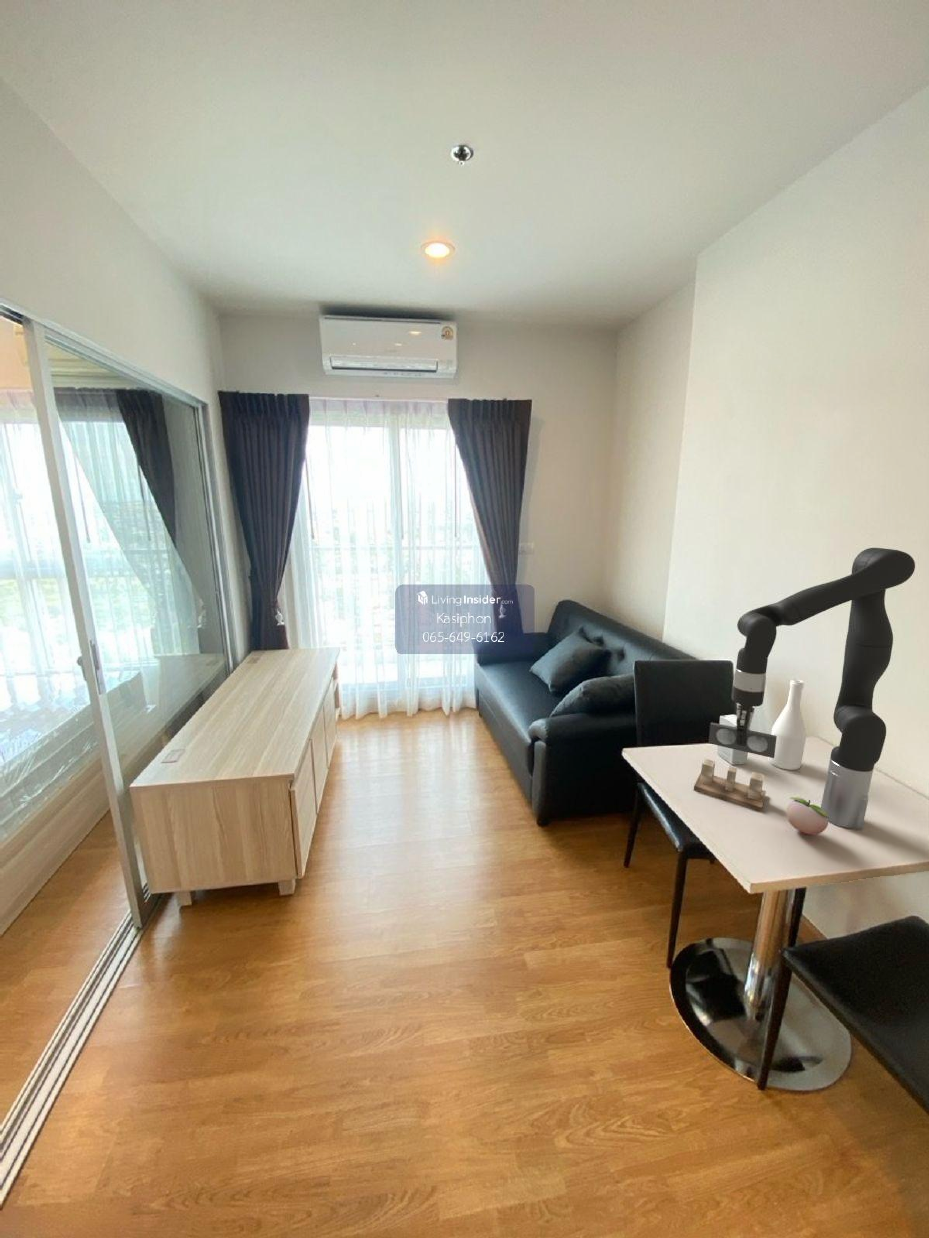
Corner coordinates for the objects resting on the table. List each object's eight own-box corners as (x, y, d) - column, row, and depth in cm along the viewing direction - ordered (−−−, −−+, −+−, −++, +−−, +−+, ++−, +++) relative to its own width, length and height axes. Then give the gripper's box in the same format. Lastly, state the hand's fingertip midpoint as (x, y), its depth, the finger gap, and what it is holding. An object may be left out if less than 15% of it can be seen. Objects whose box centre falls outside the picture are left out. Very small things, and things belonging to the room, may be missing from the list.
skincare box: (747, 764, 161) (752, 724, 157) (730, 765, 160) (736, 725, 157) (730, 751, 169) (735, 713, 165) (714, 753, 168) (719, 714, 165)
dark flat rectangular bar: (774, 756, 129) (776, 735, 128) (774, 758, 128) (776, 737, 126) (709, 741, 138) (711, 722, 137) (708, 743, 137) (710, 724, 136)
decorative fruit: (777, 830, 128) (782, 797, 126) (789, 818, 133) (794, 786, 130) (818, 849, 121) (825, 815, 118) (829, 836, 125) (835, 803, 123)
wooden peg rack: (765, 795, 143) (769, 771, 142) (761, 811, 136) (765, 787, 134) (700, 775, 154) (703, 753, 152) (693, 790, 146) (696, 766, 144)
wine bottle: (761, 760, 163) (774, 678, 156) (777, 753, 167) (790, 674, 160) (790, 773, 155) (805, 688, 148) (806, 766, 159) (821, 682, 152)
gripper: (762, 696, 121) (754, 757, 125) (767, 680, 132) (759, 737, 136) (729, 690, 125) (722, 749, 129) (736, 675, 136) (729, 730, 140)
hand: (741, 743), depth 133 cm, fingers closed on dark flat rectangular bar, 1 cm apart
